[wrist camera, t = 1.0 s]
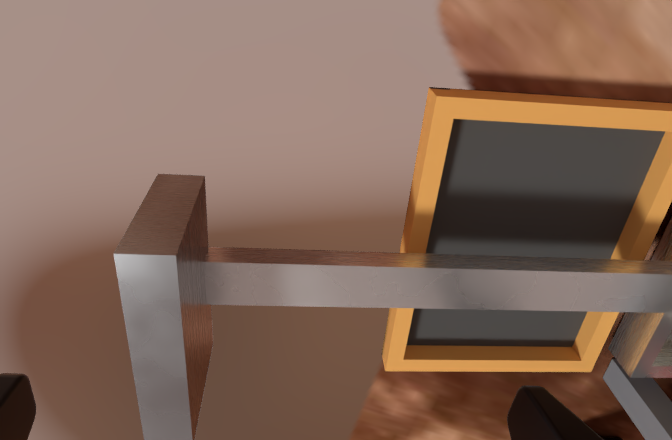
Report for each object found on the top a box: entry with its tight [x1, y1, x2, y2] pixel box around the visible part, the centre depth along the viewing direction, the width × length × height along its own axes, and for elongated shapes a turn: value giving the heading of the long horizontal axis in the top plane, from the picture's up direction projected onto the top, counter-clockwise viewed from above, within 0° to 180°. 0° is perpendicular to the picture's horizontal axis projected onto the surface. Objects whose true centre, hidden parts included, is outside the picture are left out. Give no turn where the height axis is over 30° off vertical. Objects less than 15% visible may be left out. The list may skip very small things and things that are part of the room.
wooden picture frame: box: [382, 87, 672, 372], centre depth 23 cm, size 14×11×1 cm
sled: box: [114, 174, 672, 440], centre depth 20 cm, size 12×34×7 cm, turn 85°
